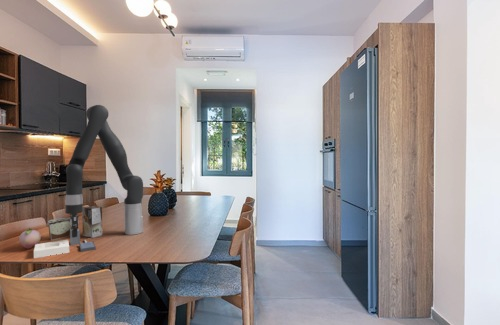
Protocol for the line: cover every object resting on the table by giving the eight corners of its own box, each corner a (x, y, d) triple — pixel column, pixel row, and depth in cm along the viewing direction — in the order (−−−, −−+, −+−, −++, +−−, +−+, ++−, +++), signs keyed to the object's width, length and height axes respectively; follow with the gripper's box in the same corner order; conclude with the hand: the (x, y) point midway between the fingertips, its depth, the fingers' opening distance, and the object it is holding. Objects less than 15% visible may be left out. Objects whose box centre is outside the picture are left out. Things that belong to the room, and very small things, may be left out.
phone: (91, 239, 150) (91, 237, 150) (95, 249, 134) (95, 246, 134) (78, 241, 147) (78, 239, 147) (81, 251, 131) (81, 249, 131)
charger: (79, 242, 147) (79, 228, 147) (80, 244, 143) (79, 230, 143) (70, 243, 144) (70, 229, 144) (70, 245, 141) (70, 231, 141)
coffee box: (103, 235, 160) (102, 206, 160) (92, 238, 154) (91, 208, 154) (92, 233, 164) (92, 205, 164) (81, 236, 159) (81, 207, 158)
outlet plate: (68, 245, 141) (68, 239, 141) (69, 252, 130) (69, 245, 130) (35, 250, 134) (35, 244, 133) (33, 258, 123) (33, 251, 123)
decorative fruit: (42, 248, 136) (42, 228, 136) (20, 252, 131) (20, 231, 130) (39, 244, 143) (39, 224, 143) (18, 248, 137) (18, 227, 137)
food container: (67, 234, 163) (66, 216, 163) (72, 235, 160) (72, 217, 159) (42, 239, 152) (42, 221, 152) (48, 241, 149) (47, 222, 149)
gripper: (84, 204, 140) (84, 237, 140) (81, 201, 151) (81, 231, 151) (65, 205, 135) (65, 239, 135) (64, 202, 147) (64, 233, 147)
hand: (74, 235), depth 143 cm, fingers open, 8 cm apart
